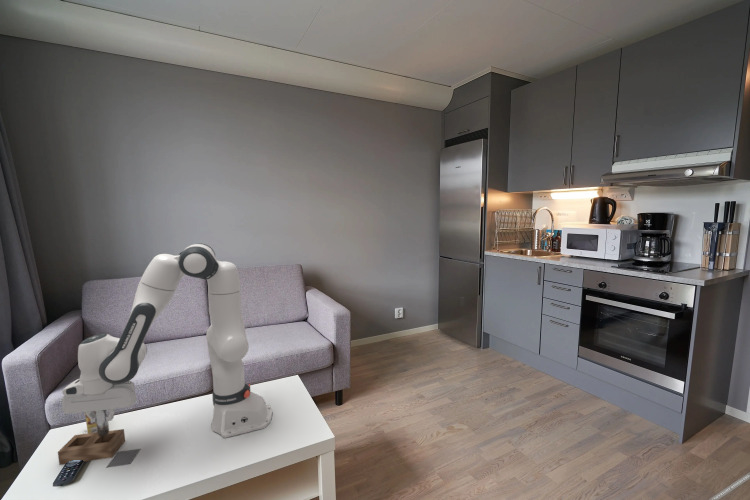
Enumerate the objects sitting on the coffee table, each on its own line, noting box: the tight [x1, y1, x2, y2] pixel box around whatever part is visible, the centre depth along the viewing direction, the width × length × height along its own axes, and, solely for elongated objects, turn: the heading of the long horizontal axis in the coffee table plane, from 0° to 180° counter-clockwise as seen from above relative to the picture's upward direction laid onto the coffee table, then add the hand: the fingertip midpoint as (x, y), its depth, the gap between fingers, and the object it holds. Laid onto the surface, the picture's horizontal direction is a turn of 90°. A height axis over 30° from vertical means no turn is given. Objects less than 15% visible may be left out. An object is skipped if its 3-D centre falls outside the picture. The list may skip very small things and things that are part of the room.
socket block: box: [57, 428, 126, 466], centre depth 110 cm, size 15×8×5 cm, turn 102°
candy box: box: [84, 411, 97, 434], centre depth 120 cm, size 9×4×15 cm, turn 33°
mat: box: [105, 448, 141, 469], centre depth 108 cm, size 7×7×1 cm
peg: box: [95, 410, 110, 437], centre depth 110 cm, size 3×3×10 cm
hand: (102, 420), depth 110 cm, fingers closed on peg, 3 cm apart
